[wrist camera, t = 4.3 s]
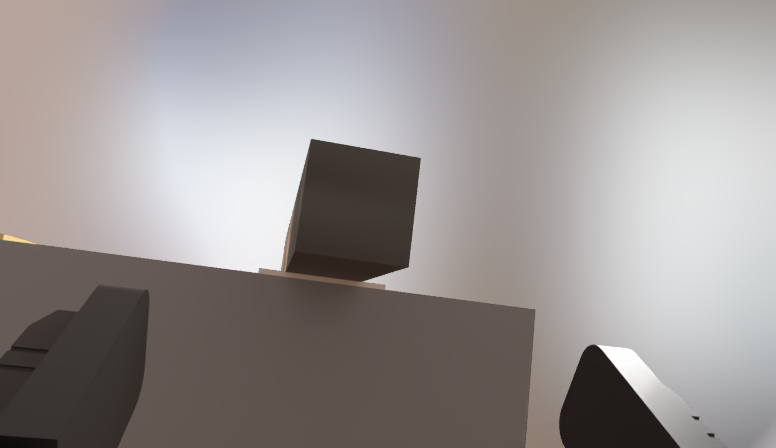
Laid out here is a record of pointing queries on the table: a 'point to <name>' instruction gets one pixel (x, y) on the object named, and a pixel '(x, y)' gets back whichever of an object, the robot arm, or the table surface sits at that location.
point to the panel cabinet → (293, 355)
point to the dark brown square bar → (352, 213)
